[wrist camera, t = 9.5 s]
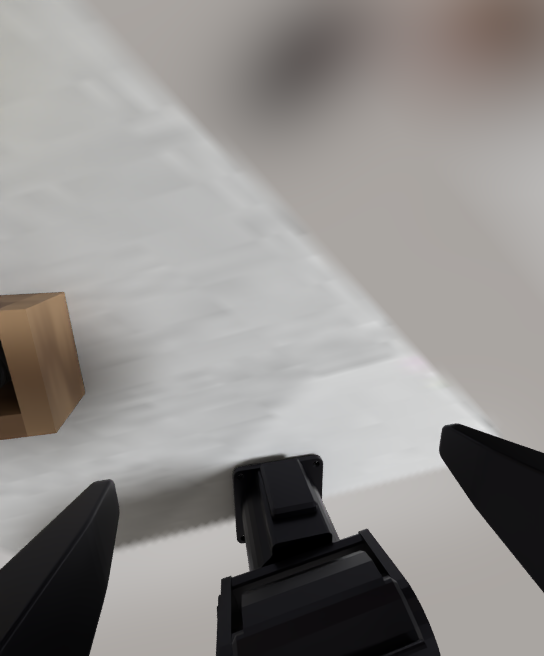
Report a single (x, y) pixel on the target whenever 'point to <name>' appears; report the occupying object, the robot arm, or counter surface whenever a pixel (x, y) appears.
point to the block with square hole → (37, 365)
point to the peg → (3, 368)
